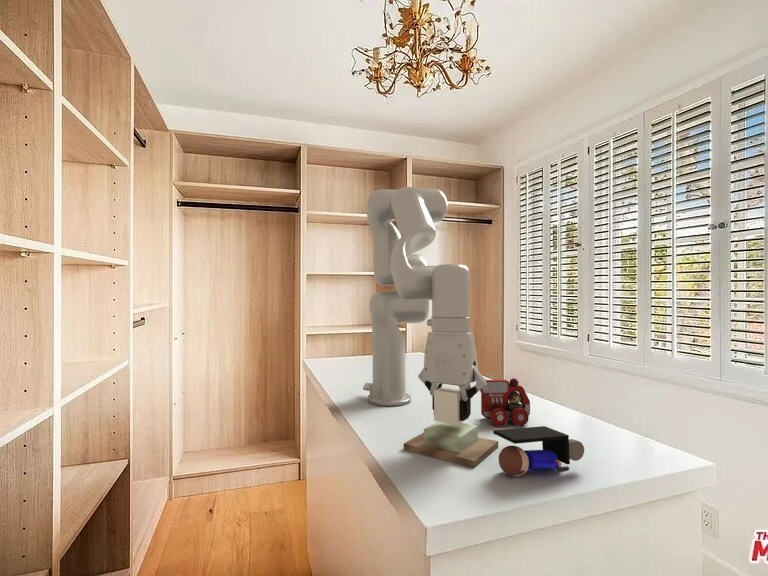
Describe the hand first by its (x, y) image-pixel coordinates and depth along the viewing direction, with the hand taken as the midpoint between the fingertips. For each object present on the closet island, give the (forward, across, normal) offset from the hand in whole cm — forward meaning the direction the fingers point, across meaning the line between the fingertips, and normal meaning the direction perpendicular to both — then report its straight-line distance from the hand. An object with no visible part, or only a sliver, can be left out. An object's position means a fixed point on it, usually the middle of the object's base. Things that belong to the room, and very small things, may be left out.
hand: (451, 415), depth 84 cm
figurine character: (+7, +17, 0) cm, 18 cm away
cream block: (+1, 0, 0) cm, 1 cm away
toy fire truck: (+7, +3, +23) cm, 24 cm away
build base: (+7, 0, 0) cm, 7 cm away
